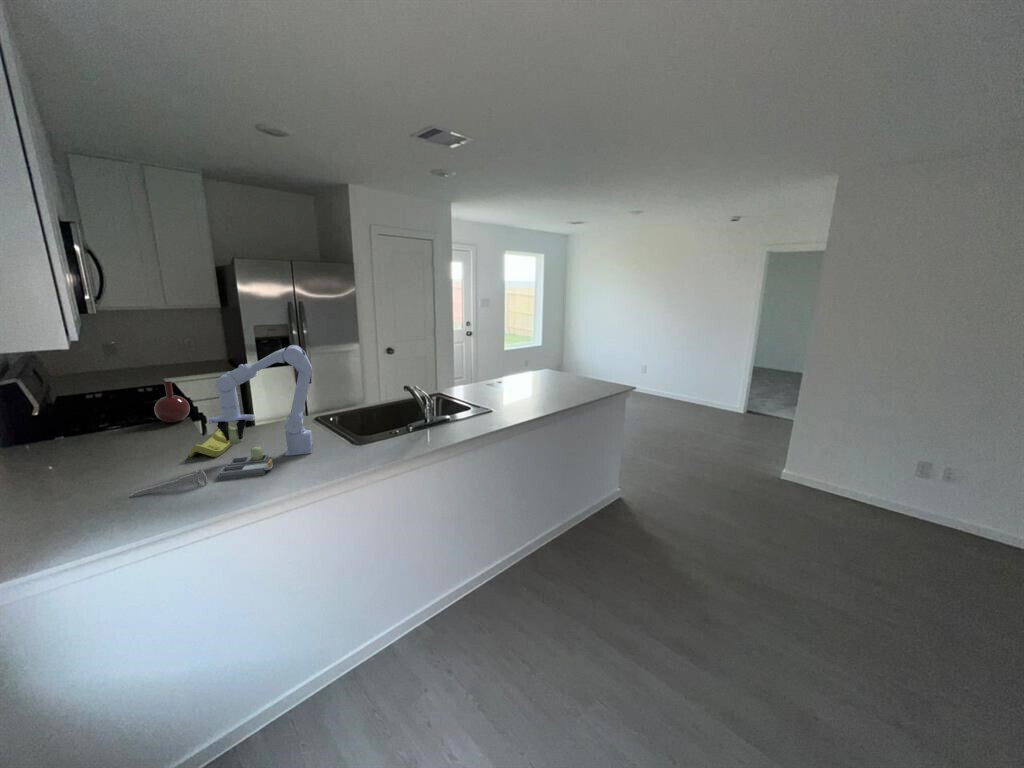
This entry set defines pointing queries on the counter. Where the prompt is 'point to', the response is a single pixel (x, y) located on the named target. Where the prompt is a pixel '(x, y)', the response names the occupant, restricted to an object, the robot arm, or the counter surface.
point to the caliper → (175, 483)
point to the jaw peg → (233, 436)
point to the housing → (238, 464)
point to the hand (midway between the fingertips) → (234, 439)
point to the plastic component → (212, 445)
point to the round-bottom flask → (171, 406)
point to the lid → (260, 466)
